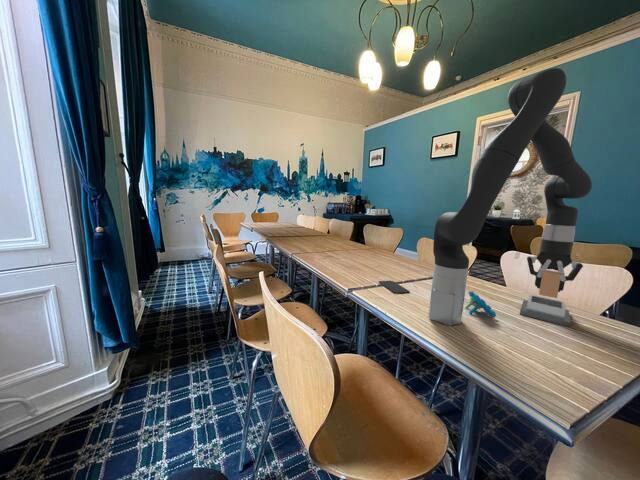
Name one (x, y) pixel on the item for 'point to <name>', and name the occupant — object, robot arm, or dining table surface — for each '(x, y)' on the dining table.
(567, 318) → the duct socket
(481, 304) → the blue toy figure
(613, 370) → the dining table surface
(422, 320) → the dining table surface
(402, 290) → the phone
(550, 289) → the tan rectangular block
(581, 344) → the dining table surface
